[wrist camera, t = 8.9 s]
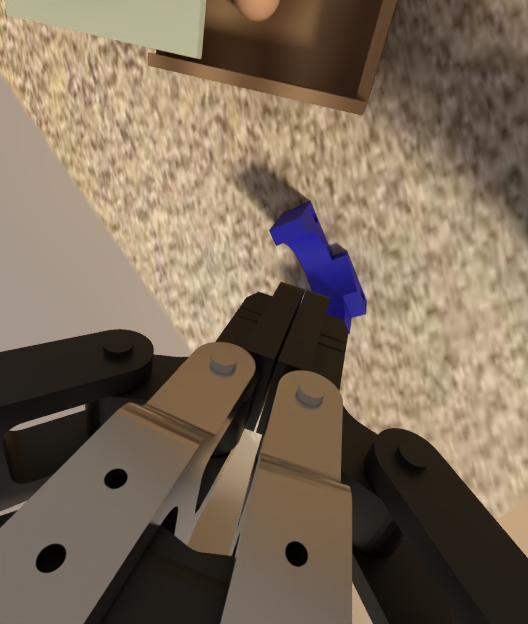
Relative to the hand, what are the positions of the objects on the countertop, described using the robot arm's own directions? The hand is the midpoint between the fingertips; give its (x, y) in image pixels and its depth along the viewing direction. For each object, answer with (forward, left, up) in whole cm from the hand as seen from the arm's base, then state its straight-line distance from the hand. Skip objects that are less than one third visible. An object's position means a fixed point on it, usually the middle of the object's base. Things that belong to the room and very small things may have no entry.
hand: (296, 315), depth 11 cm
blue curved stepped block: (0, +9, -28) cm, 29 cm away
